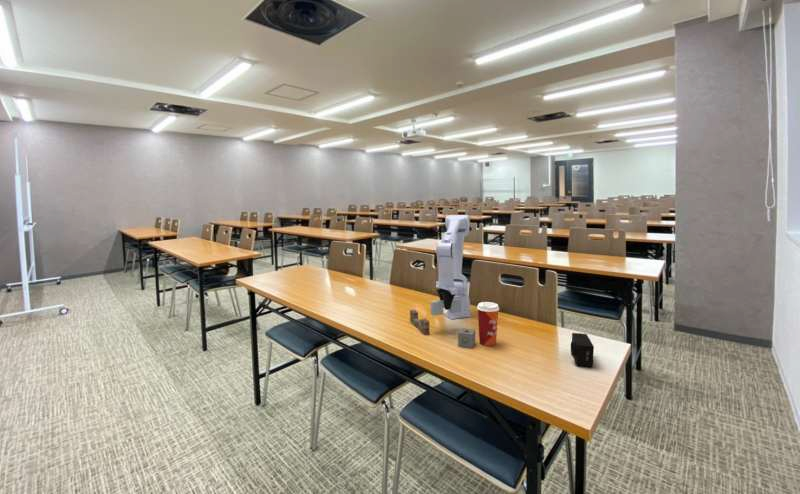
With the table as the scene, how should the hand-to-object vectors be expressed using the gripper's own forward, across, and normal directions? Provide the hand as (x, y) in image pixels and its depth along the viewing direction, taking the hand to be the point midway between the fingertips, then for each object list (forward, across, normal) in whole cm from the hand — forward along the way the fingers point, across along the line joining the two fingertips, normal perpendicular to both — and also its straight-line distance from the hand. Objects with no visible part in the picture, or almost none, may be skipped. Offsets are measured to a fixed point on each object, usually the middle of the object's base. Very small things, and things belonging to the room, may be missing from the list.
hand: (446, 308), depth 140 cm
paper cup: (+9, +16, +8) cm, 21 cm away
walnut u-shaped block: (+9, -7, -9) cm, 14 cm away
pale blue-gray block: (+2, 0, 0) cm, 2 cm away
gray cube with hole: (+9, +15, +1) cm, 18 cm away
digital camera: (+9, +38, +28) cm, 48 cm away
